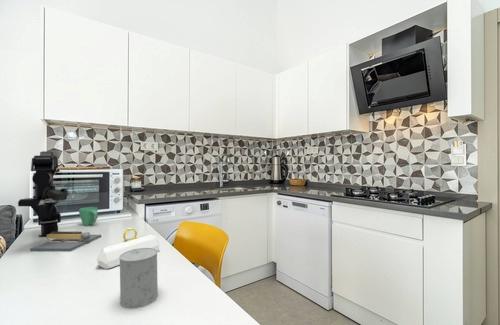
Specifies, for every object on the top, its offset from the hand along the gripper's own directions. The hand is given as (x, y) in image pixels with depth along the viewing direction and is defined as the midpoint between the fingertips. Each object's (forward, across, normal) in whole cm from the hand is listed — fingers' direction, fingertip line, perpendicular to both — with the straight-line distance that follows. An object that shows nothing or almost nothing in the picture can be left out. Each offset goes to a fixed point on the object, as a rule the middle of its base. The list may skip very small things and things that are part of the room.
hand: (44, 219), depth 110 cm
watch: (+13, +12, -32) cm, 37 cm away
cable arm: (+10, +6, -6) cm, 14 cm away
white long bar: (+13, -10, -45) cm, 48 cm away
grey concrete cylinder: (+13, -38, -62) cm, 75 cm away
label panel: (+13, +6, -6) cm, 16 cm away
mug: (+13, +40, +8) cm, 42 cm away
